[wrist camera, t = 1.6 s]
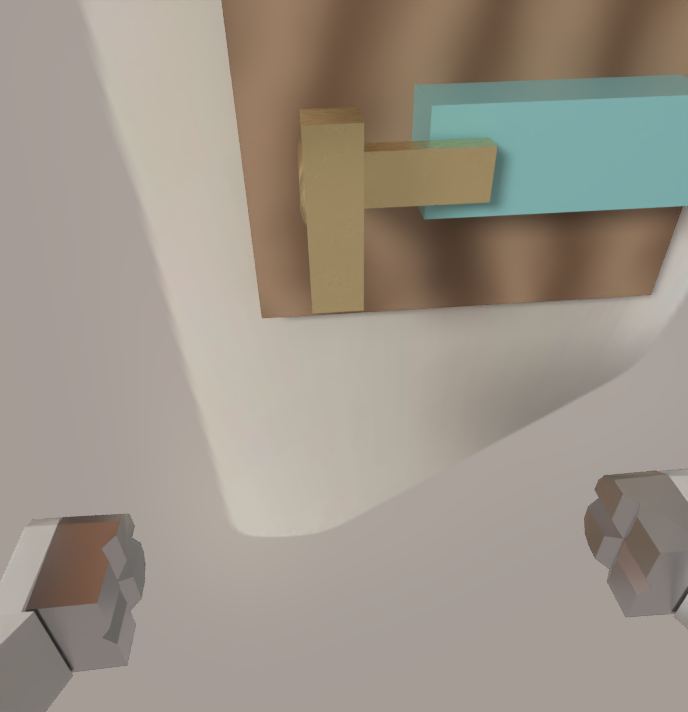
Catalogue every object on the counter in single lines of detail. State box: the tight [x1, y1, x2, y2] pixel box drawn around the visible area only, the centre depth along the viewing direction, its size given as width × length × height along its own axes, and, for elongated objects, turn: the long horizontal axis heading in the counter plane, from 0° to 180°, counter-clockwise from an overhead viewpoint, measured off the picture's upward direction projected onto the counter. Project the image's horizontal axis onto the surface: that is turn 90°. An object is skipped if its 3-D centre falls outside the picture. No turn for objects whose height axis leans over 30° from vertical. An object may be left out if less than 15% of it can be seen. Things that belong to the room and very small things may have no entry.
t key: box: [297, 107, 498, 314], centre depth 24 cm, size 8×7×10 cm
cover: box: [412, 75, 688, 219], centre depth 27 cm, size 13×5×4 cm, turn 91°
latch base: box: [221, 0, 688, 318], centre depth 29 cm, size 24×20×2 cm
